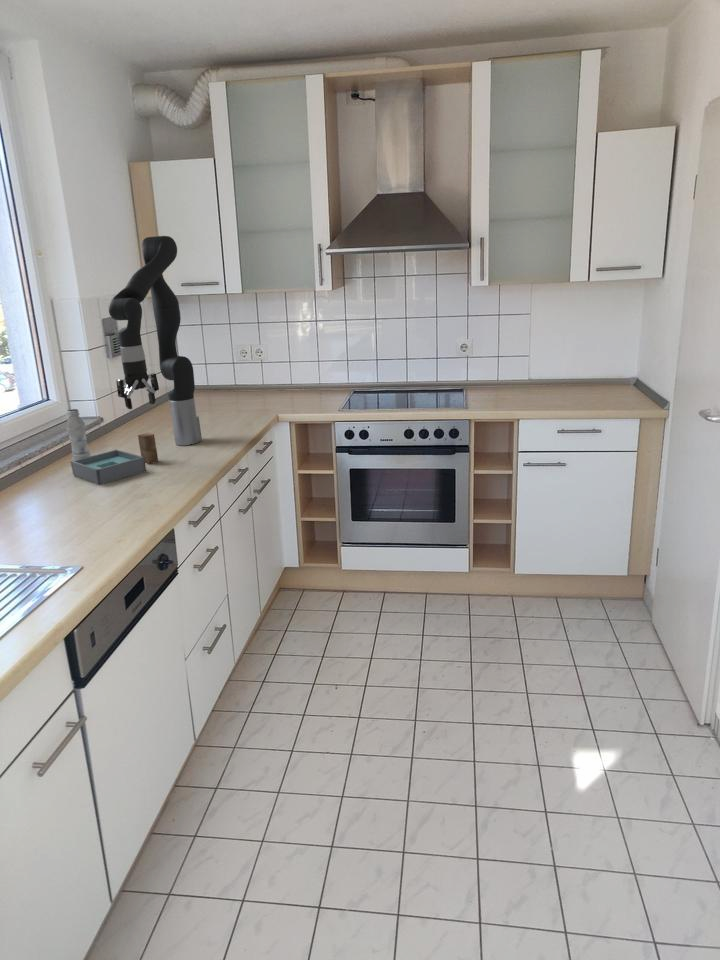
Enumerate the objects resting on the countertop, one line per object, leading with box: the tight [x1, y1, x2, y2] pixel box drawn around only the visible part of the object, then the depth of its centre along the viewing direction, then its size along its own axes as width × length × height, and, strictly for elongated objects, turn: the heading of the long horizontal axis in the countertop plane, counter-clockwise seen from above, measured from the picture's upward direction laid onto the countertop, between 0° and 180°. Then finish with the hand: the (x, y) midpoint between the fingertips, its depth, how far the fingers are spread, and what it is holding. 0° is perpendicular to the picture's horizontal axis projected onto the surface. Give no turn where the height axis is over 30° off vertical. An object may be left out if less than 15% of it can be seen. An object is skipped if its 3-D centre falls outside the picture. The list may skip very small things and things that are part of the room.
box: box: [70, 449, 147, 486], centre depth 237 cm, size 17×18×5 cm
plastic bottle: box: [65, 408, 92, 461], centre depth 247 cm, size 6×7×20 cm
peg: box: [137, 432, 159, 465], centre depth 247 cm, size 4×4×10 cm
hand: (141, 406), depth 243 cm, fingers open, 8 cm apart
